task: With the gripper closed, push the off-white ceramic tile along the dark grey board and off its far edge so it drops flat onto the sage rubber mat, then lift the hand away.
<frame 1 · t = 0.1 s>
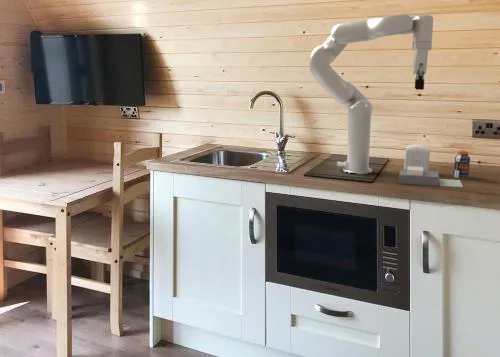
hand: (419, 88, 221), 37 cm above the worktop, tool pointing down, fingers open, 9 cm apart
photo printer: (416, 173, 233), on the worktop
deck: (418, 181, 216), on the worktop
mat: (450, 183, 213), on the worktop
pill bottle: (460, 177, 224), on the worktop
tile: (414, 173, 216), point 3 cm above the worktop, touching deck
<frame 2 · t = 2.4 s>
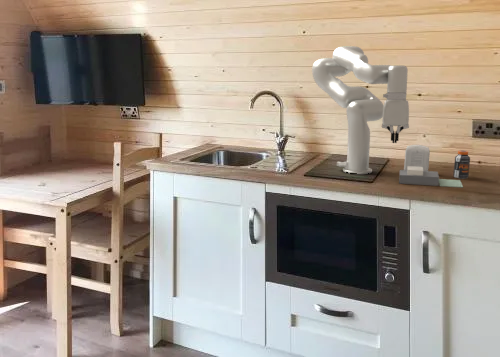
hand: (394, 142, 215), 16 cm above the worktop, tool pointing down, fingers closed
nothing on the worktop moved.
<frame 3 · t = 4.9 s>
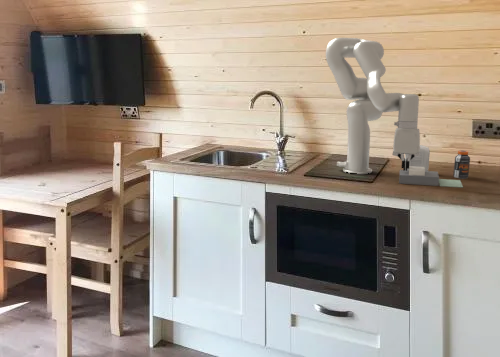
hand: (405, 170, 216), 5 cm above the worktop, tool pointing down, fingers closed
tile: (416, 173, 215), point 3 cm above the worktop, touching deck, gripper
everything else where it was.
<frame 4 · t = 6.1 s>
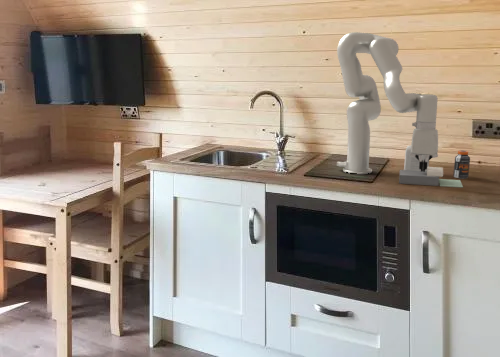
hand: (422, 171, 214), 5 cm above the worktop, tool pointing down, fingers closed
tile: (434, 174, 213), point 4 cm above the worktop
everything else where it was.
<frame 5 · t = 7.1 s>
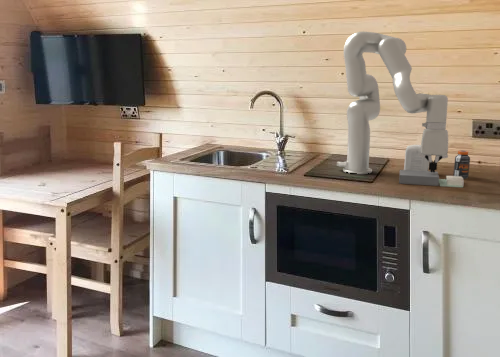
hand: (432, 171, 213), 4 cm above the worktop, tool pointing down, fingers closed
tile: (454, 178, 211), point 2 cm above the worktop, tilted 180°, touching mat
everything else where it was.
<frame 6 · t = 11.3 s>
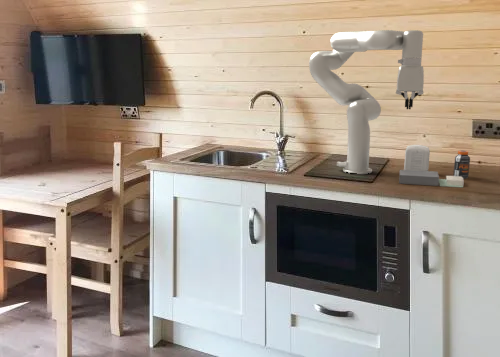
hand: (408, 108, 214), 29 cm above the worktop, tool pointing down, fingers closed
nothing on the worktop moved.
at the end: tile point 2.3 cm above the worktop; tile inside the target area on the mat (1.6 cm from its centre), point 2.3 cm above the mat's base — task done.
